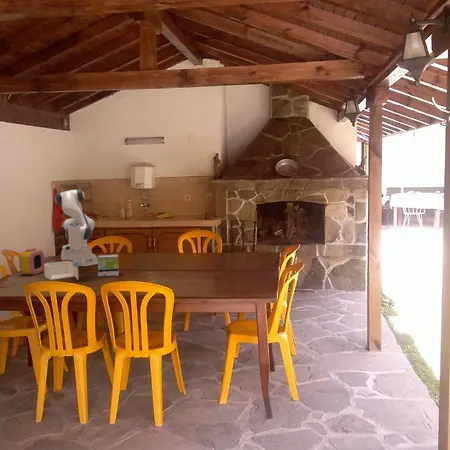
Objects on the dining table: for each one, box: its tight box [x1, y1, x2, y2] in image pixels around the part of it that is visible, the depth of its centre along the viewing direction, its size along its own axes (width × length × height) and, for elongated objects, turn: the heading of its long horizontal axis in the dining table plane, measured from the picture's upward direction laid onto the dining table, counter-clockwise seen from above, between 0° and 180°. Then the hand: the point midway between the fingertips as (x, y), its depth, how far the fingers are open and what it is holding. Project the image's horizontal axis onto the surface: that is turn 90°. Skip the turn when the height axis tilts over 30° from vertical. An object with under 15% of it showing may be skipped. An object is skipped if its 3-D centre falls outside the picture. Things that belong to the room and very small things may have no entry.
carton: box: [43, 260, 75, 281], centre depth 368 cm, size 18×14×10 cm
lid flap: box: [74, 262, 80, 281], centre depth 359 cm, size 17×2×12 cm, turn 24°
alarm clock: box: [18, 247, 45, 276], centre depth 382 cm, size 18×11×19 cm, turn 168°
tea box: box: [97, 254, 120, 277], centre depth 370 cm, size 15×10×15 cm, turn 101°
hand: (76, 265), depth 354 cm, fingers open, 2 cm apart
